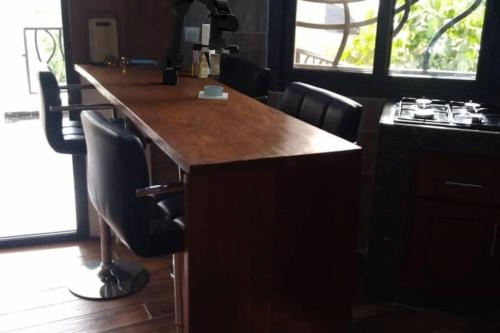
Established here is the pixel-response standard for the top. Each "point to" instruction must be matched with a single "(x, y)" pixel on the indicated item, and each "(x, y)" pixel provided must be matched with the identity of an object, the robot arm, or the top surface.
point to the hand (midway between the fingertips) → (214, 69)
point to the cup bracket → (213, 93)
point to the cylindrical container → (206, 38)
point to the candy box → (199, 64)
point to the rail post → (214, 64)
